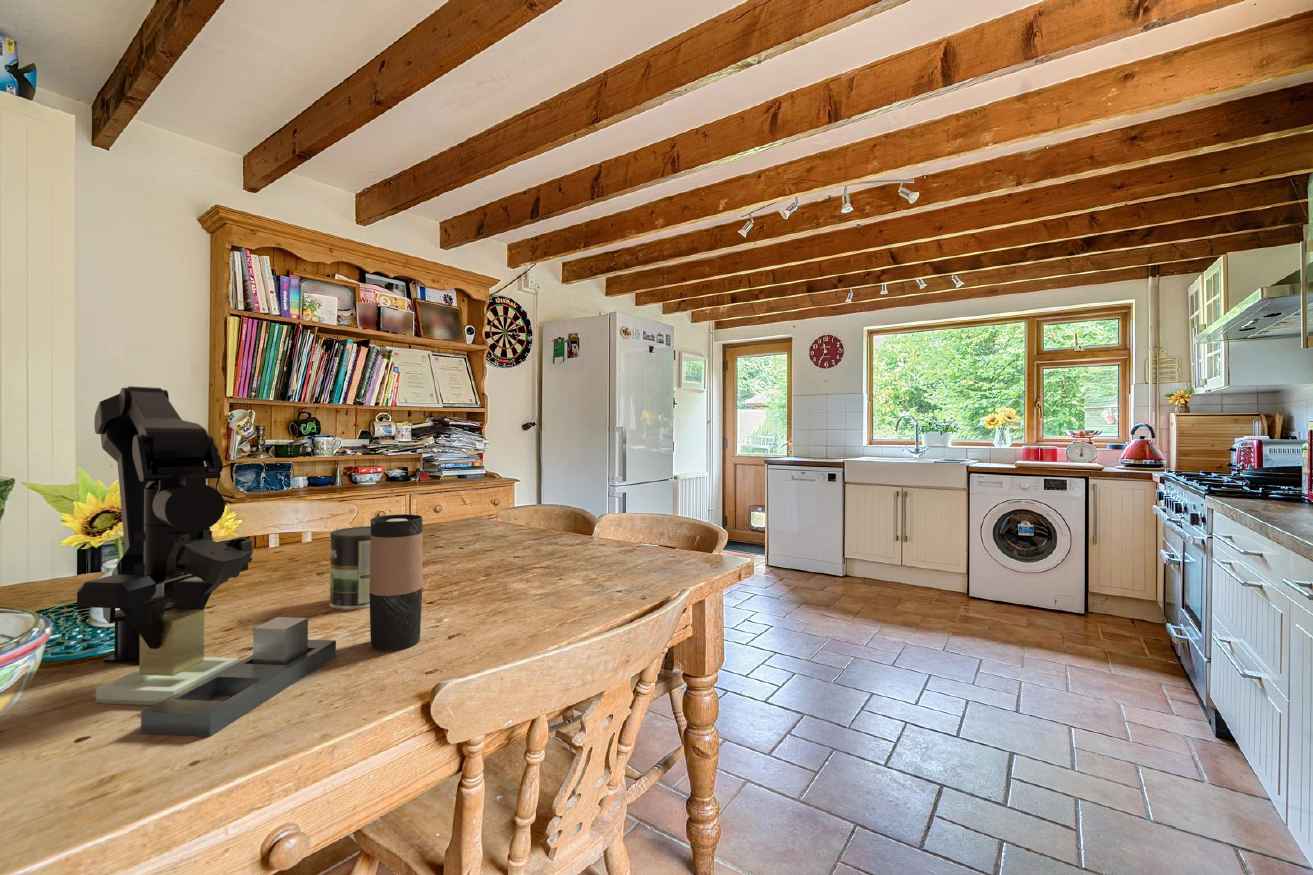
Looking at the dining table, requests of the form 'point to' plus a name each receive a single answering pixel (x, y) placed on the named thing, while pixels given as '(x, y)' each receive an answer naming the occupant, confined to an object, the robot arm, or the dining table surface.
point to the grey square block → (280, 641)
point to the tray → (158, 683)
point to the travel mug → (395, 581)
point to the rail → (230, 694)
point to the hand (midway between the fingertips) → (172, 641)
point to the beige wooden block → (175, 644)
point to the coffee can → (350, 568)
